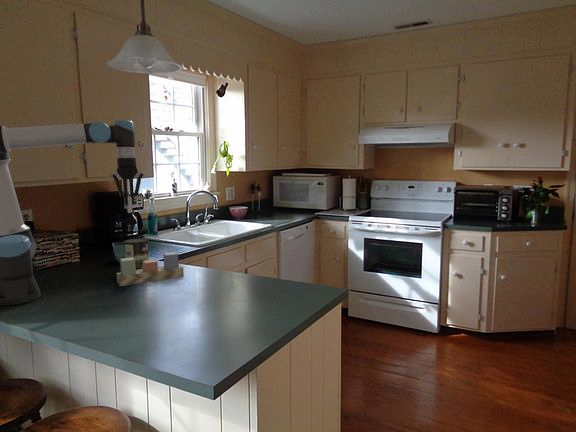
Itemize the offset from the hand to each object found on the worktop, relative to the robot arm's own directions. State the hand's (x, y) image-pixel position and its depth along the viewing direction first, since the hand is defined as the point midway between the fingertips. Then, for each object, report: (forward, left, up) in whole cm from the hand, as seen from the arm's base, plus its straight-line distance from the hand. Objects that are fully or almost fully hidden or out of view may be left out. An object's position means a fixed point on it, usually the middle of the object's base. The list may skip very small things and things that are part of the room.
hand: (130, 212), depth 190 cm
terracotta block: (+5, -9, -28) cm, 29 cm away
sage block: (-4, -9, -25) cm, 27 cm away
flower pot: (+2, +35, -29) cm, 45 cm away
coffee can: (+4, +11, -29) cm, 31 cm away
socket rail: (+5, -9, -28) cm, 30 cm away
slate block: (+14, -9, -25) cm, 30 cm away
